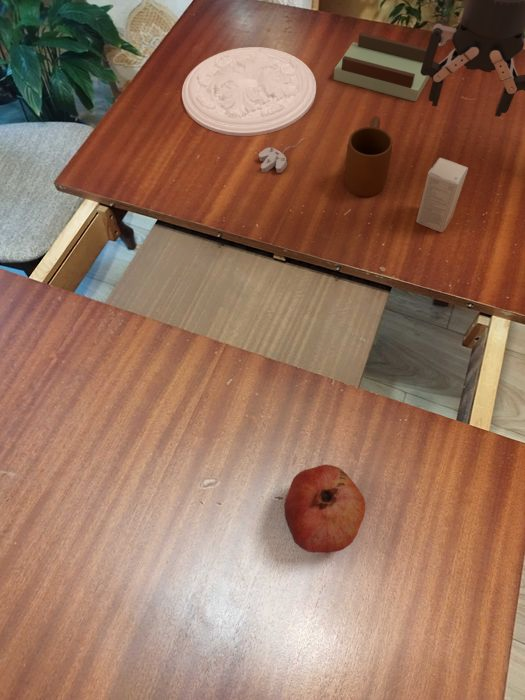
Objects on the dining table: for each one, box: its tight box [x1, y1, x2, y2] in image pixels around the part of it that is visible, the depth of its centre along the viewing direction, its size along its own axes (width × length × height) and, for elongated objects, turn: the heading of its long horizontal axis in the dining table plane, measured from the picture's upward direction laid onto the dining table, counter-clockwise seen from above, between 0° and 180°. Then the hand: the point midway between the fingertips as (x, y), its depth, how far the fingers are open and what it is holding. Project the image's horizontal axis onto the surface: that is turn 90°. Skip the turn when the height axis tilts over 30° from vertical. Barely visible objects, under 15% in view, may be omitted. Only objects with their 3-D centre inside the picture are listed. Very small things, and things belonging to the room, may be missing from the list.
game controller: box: [258, 137, 307, 174], centre depth 103 cm, size 6×12×3 cm, turn 153°
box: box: [415, 157, 469, 233], centre depth 89 cm, size 5×4×11 cm
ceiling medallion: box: [181, 46, 317, 137], centre depth 112 cm, size 28×28×3 cm
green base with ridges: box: [333, 32, 431, 103], centre depth 112 cm, size 18×10×5 cm, turn 63°
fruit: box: [283, 464, 366, 554], centre depth 66 cm, size 11×10×10 cm
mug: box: [343, 115, 394, 198], centre depth 96 cm, size 12×8×9 cm, turn 166°
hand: (466, 107), depth 75 cm, fingers open, 8 cm apart
